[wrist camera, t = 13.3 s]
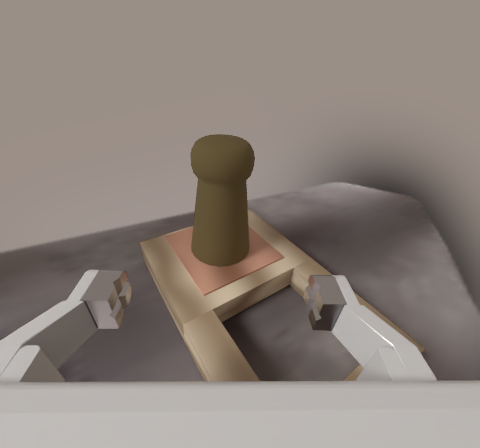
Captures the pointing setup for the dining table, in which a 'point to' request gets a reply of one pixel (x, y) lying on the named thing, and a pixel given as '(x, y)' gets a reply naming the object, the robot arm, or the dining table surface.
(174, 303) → the wooden frame
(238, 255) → the cork
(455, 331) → the dining table surface
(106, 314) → the robot arm
